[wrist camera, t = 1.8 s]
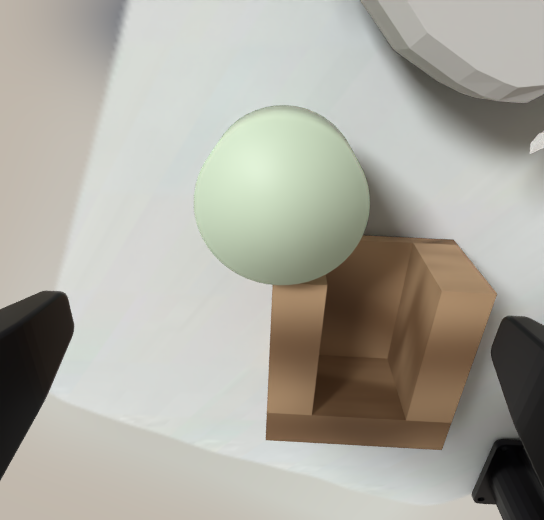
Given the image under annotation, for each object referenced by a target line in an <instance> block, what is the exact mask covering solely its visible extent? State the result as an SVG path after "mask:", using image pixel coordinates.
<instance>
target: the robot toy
mask: <svg viewBox="0 0 544 520" xmlns="http://www.w3.org/2000/svg"><path fill="white" fill-rule="evenodd" d="M360 1H361V2H362V4H363V5H364V7H365V8H366V10H367V11H368V13H369V14H370V16H371V17H372V19H373V20H374V22H375V23H376V25H377V26H378V28H379V29H380V30H381V32H382V33H383V35H384V36H385V38H386V39H387V41H388V42H389V44H390V45H391V47H392V48H393V50H394V51H396V52H397V53H399V54H400V55H401V56H403V57H404V58H406V59H407V60H408V61H410V62H411V63H412V64H414V65H415V66H417V67H418V68H419V69H421V70H422V71H424V72H425V73H426V74H428V75H429V76H431V77H432V78H433V79H435V80H436V81H438V82H440V83H442V84H444V85H446V86H448V87H449V88H451V89H453V90H455V91H457V92H459V93H462V94H465V95H468V96H471V97H474V98H481V99H487V100H494V101H503V102H517V103H528V102H530V101H532V100H534V99H536V98H538V97H540V96H542V95H544V0H360ZM542 148H544V130H543V132H542V133H539V134H538V135H537V136H536V137H535V139H534V140H533V141H532V142H531V144H530V154H532V153H534V152H536V151H538V150H540V149H542Z"/></svg>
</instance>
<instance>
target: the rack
mask: <svg viewBox="0 0 544 520" xmlns="http://www.w3.org/2000/svg"><path fill="white" fill-rule="evenodd" d="M496 296H497V293H496V292H495V291H494V289H493V288H492V287H491V286H490V284H489V283H488V282H487V281H486V280H485V278H484V277H483V276H482V275H481V273H480V272H479V271H478V270H477V268H476V267H475V266H474V265H473V263H472V262H471V261H470V260H469V258H468V257H467V256H466V255H465V253H464V252H463V251H462V250H461V248H460V247H459V246H458V245H457V244H456V242H455V241H454V240H447V239H427V238H407V237H386V236H366V235H363V236H362V238H361V240H360V242H359V243H358V245H357V247H356V248H355V249H354V251H353V252H352V253H351V255H350V256H349V257H348V258H347V259H346V260H345V261H344V262H343V263H341V264H340V265H339V266H338V267H337V268H335V269H334V270H332V271H331V272H329V273H327V274H325V275H323V276H321V277H319V278H317V279H314V280H311V281H309V282H304V283H300V284H293V285H273V289H272V311H271V334H270V356H269V378H268V401H267V423H266V440H274V441H291V442H309V443H327V444H345V445H362V446H380V447H398V448H416V449H433V450H442V448H443V445H444V442H445V439H446V437H447V434H448V431H449V428H450V425H451V423H452V420H453V417H454V414H455V411H456V408H457V406H458V403H459V400H460V397H461V394H462V392H463V389H464V386H465V383H466V380H467V377H468V375H469V372H470V369H471V366H472V363H473V361H474V358H475V355H476V352H477V349H478V346H479V344H480V341H481V338H482V335H483V332H484V330H485V327H486V324H487V321H488V318H489V315H490V313H491V310H492V307H493V304H494V301H495V299H496Z"/></svg>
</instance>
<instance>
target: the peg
mask: <svg viewBox="0 0 544 520" xmlns="http://www.w3.org/2000/svg"><path fill="white" fill-rule="evenodd" d="M369 208H370V197H369V189H368V184H367V181H366V178H365V175H364V172H363V170H362V168H361V166H360V164H359V162H358V160H357V159H356V157H355V155H354V153H353V151H352V149H351V147H350V145H349V144H348V142H347V140H346V139H345V137H344V136H343V134H342V133H341V132H340V131H339V130H338V129H337V128H336V127H335V125H333V124H332V123H331V122H330V121H328V120H327V119H326V118H324V117H323V116H321V115H319V114H317V113H315V112H313V111H310V110H308V109H305V108H301V107H297V106H288V105H280V106H270V107H265V108H262V109H258V110H255V111H253V112H251V113H249V114H247V115H245V116H244V117H242V118H240V119H239V120H237V121H236V122H235V123H234V124H233V125H232V126H231V127H230V128H229V129H228V130H227V131H226V132H225V133H224V134H223V136H222V137H221V139H220V140H219V142H218V143H217V145H216V146H215V148H214V149H213V151H212V152H211V154H210V155H209V157H208V158H207V160H206V161H205V163H204V164H203V167H202V169H201V171H200V173H199V176H198V179H197V182H196V186H195V193H194V212H195V218H196V222H197V226H198V229H199V231H200V234H201V236H202V238H203V240H204V242H205V243H206V245H207V247H208V248H209V249H210V251H211V252H212V253H213V255H214V256H215V257H216V258H217V259H218V260H219V261H220V262H221V263H223V264H224V265H225V266H226V267H228V268H229V269H231V270H232V271H234V272H235V273H237V274H239V275H241V276H243V277H245V278H247V279H250V280H253V281H256V282H260V283H264V284H271V285H293V284H300V283H304V282H309V281H311V280H314V279H317V278H319V277H321V276H323V275H325V274H327V273H329V272H331V271H332V270H334V269H335V268H337V267H338V266H339V265H340V264H341V263H343V262H344V261H345V260H346V259H347V258H348V257H349V256H350V255H351V253H352V252H353V251H354V249H355V248H356V247H357V245H358V243H359V242H360V240H361V238H362V236H363V233H364V231H365V228H366V226H367V221H368V217H369Z"/></svg>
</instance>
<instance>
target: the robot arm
mask: <svg viewBox="0 0 544 520" xmlns="http://www.w3.org/2000/svg"><path fill="white" fill-rule="evenodd" d="M73 332H74V322H73V318H72V313H71V309H70V305H69V301H68V297H67V295H66V294H65V293H64V292H61V291H42V292H39V293H37V294H35V295H32V296H30V297H28V298H25V299H24V300H21V301H19V302H16V303H14V304H12V305H9V306H7V307H5V308H2V309H0V480H1V478H2V476H3V475H4V473H5V471H6V469H7V467H8V466H9V464H10V462H11V460H12V459H13V457H14V455H15V453H16V451H17V449H18V448H19V446H20V444H21V442H22V441H23V439H24V437H25V435H26V433H27V432H28V430H29V428H30V426H31V424H32V423H33V421H34V419H35V417H36V416H37V414H38V412H39V410H40V408H41V406H42V404H43V403H44V400H45V399H46V397H47V394H48V392H49V390H50V388H51V386H52V383H53V381H54V378H55V376H56V374H57V371H58V369H59V367H60V364H61V362H62V359H63V357H64V355H65V352H66V350H67V348H68V345H69V343H70V341H71V338H72V336H73ZM491 357H492V361H493V364H494V367H495V370H496V373H497V376H498V379H499V382H500V385H501V388H502V391H503V394H504V397H505V400H506V403H507V406H508V409H509V411H510V414H511V417H512V420H513V422H514V425H515V428H516V430H517V432H518V435H519V437H520V439H521V440H509V439H500V440H497V441H496V442H495V443H494V445H493V447H492V449H491V451H490V454H489V456H488V458H487V460H486V463H485V465H484V467H483V470H482V472H481V474H480V476H479V479H478V481H477V483H476V485H475V488H474V490H473V492H472V497H473V500H474V501H475V502H476V503H482V504H496V505H497V507H498V510H499V512H500V514H501V516H502V519H503V520H544V325H542V324H540V323H538V322H536V321H534V320H532V319H531V318H528V317H525V316H506V317H504V318H503V319H502V321H501V323H500V326H499V329H498V331H497V334H496V336H495V339H494V342H493V344H492V348H491Z"/></svg>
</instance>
